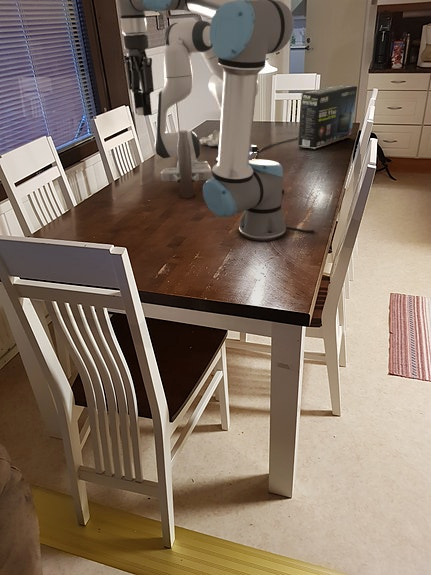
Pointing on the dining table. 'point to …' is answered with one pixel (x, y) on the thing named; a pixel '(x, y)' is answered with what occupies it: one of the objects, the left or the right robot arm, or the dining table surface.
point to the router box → (326, 115)
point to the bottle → (184, 165)
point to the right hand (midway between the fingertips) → (143, 114)
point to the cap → (140, 111)
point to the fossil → (211, 139)
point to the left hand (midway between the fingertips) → (186, 180)
